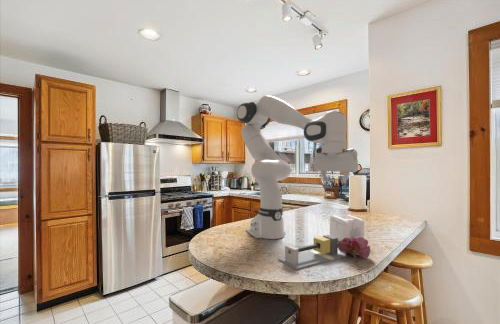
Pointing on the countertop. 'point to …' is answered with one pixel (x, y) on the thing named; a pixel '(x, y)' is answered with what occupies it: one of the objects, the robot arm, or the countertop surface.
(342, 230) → the cable organizer
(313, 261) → the grey slider rail toy
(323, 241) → the sleeve
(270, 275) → the countertop surface
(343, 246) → the flower
